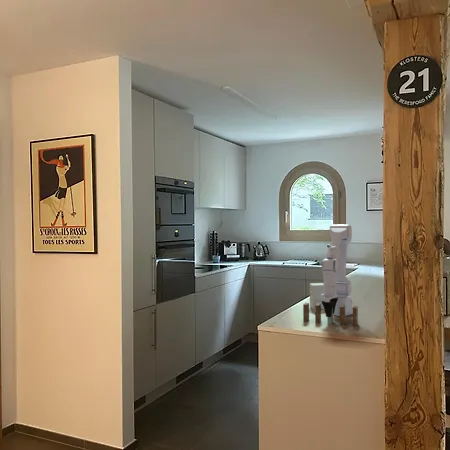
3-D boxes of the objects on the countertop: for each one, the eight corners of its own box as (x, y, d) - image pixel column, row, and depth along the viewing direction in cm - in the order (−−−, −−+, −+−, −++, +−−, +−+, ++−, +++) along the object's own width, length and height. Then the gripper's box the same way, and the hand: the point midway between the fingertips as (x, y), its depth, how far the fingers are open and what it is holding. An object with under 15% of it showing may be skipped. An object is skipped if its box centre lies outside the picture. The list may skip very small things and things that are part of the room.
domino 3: (327, 323, 210) (327, 306, 209) (329, 321, 214) (329, 304, 214) (331, 324, 209) (330, 306, 209) (333, 321, 213) (332, 304, 213)
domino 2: (315, 322, 212) (315, 305, 212) (317, 320, 216) (317, 303, 216) (318, 323, 211) (318, 305, 211) (321, 320, 216) (320, 303, 215)
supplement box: (323, 306, 249) (323, 282, 248) (326, 309, 241) (326, 284, 241) (309, 306, 248) (309, 283, 248) (312, 309, 241) (312, 285, 241)
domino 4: (339, 324, 207) (339, 306, 207) (341, 322, 212) (341, 304, 212) (343, 325, 207) (343, 307, 207) (345, 322, 211) (345, 305, 211)
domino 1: (303, 321, 214) (303, 304, 214) (305, 319, 218) (305, 302, 218) (306, 322, 213) (306, 304, 213) (309, 319, 218) (309, 302, 218)
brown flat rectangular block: (352, 325, 205) (352, 307, 205) (354, 323, 210) (354, 305, 210) (356, 326, 205) (356, 307, 205) (357, 323, 209) (357, 305, 209)
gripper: (324, 282, 219) (324, 311, 220) (317, 287, 206) (318, 317, 206) (339, 283, 217) (339, 312, 217) (333, 288, 203) (334, 319, 204)
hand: (330, 315), depth 211 cm, fingers open, 7 cm apart
